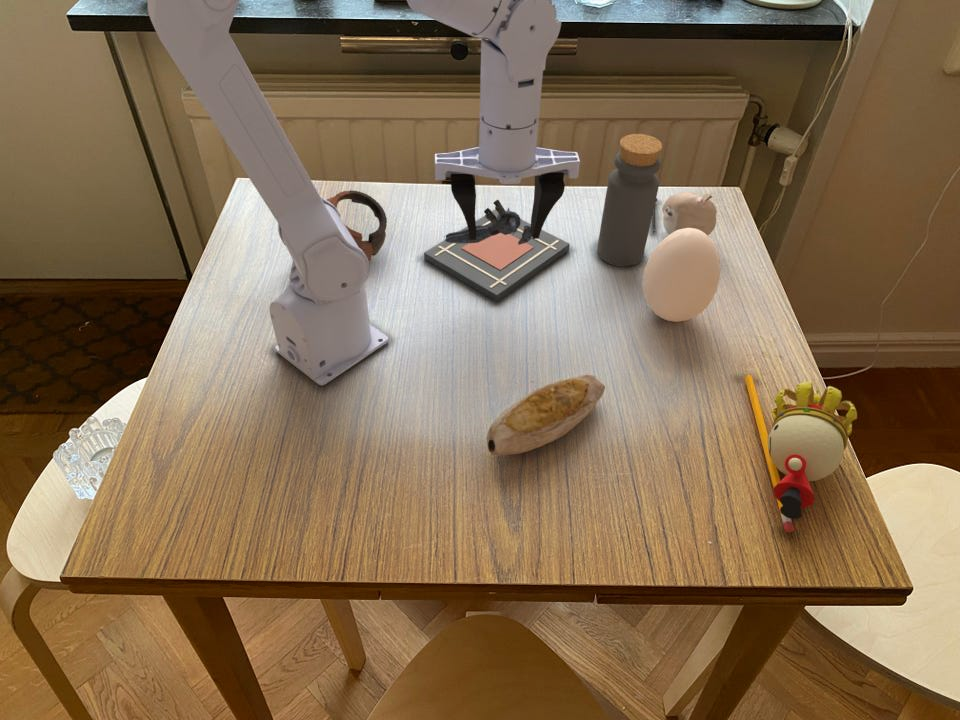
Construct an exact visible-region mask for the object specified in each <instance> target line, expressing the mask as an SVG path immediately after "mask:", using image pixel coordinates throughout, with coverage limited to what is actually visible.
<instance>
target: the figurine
mask: <svg viewBox="0 0 960 720" xmlns="http://www.w3.org/2000/svg"><path fill="white" fill-rule="evenodd" d="M493 204H494V210H495V209H496V210H497V212H498V213H499V214H498V215H497V217H496V216H495V215H494V214H493V213H492V211H493V210H491V209H490V208H489V207H487V208H485V210H484V211H483V213H484V216H485V217H486V218H487V219H488V220H489V221H490V223H489V224H487V225H484V226H476V240H470V238H469V230H468V229H467V230H463V231H461V230H459V231H453V232H448V233H447V234H445V235H444V236H443V237H444V238H445V239H444V240H446V242H449V243H478V242H480V241H482V240H484V239H486V238H488V237H490V236H494V235H497V234H499V233H502V234H504V235H507V234H511V233H513V234H514V233H515V232H516V233H517V229H518V228H519V226H520V222H521V220H522V218H521V217H520V215H519V214H518V213H517V212H516V211H511V210H510V208H509V207H507V209H505V208H504V206H503V205H502V203H501V202H500V200H499V199H496V200H495V201H493ZM531 238H532V230H531V228H530V227H529V226H524V230H523V233H522V238H521V239H520V240H519V242H518V244H519V245H520V244H523V243H526V242H528V241H529V240H530V239H531Z"/></svg>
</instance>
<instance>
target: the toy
mask: <svg viewBox="0 0 960 720" xmlns="http://www.w3.org/2000/svg"><path fill="white" fill-rule="evenodd" d="M815 388H816V394H815V390H814V386H813V382H812V381H804V382H800V383H798V384H796V388H795V390H793V389H790V388H787V387H786V388H783V389H782V390H780V391H779V392H778V393H777V394H776V395H775V397H774V403H775V404H776V405H775V406H774V407H773V408H772V410H771V416H772V418H773V422H772V427H771V429H770V433H769V434H768V437H769V439H768V451H769V455H770V457H771V459H772V462H773V463H774V464H775V466H776V467H777V470H778V471H780V472H781V473H782V474H783V475H784V477H783V478H782V479H780V482H779V483H778V484H777V485H776V486H775V487H773V489H772V494H773V496H774V498H775V499H776V498H777V499H778V500H779V501H780V502H781V504H782V505H783V506H782V507H781V508H780V510H779V513H780V512H781V513H782V514H783V515H784V516H785V517H787V518H790V519H791V520H799V519H800V518H802V515H803V514H802V509H803V508H808V507H811V506H812V505H813V504H814V503H815V494H814V492H813V489H812V486H811V484H810V482H816V481H820V480H822V479H824V478H827V477H829V476H830V475H831V474H833V473H834V472H835V471H836V470H837V469H838V468H839V466H840V464H841V462H842V460H843V458H844V454H845V453H844V452H845V450H846V448H847V446H848V445H847V444H848V440H849V436H850V435H851V434H852V430H853V423H852V422H853V421H855V420H857V419H858V411H857V409H856V407H855V404H854V403H852V401H851V400H842V398H843V395H842V391H841V390H839V389H838V388H836V387H834V386H831V385H828V386H827V387H826V388H825V389H824V391H823V393H822V395H819V392H820V391H821V390H820V388H819V385H816V387H815ZM784 396H787V398H788V399H791V400H792V401H794V402H796V403H795V404H792V403H788V402H787V403H786V400H785V399H784ZM838 410H845V411H847V413H846V414H845V416H842V415H839V414H837V413H836V411H838ZM777 499H776V500H777Z"/></svg>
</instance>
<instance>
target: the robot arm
mask: <svg viewBox="0 0 960 720" xmlns="http://www.w3.org/2000/svg"><path fill="white" fill-rule="evenodd" d="M146 1H147V14H148V16H149V19H150V21H151V24H152V26H153V28H154V30H155V32H156V35H157V37H158V39H159V41H160V43H161V44H162V45H163V47H164V48H165V50H166V52H167V53H168V54H169V56H170V58H171V59H172V61H173V62H174V64H175V66H176V67H177V69H178V71H179V72H180V73H181V75H182V76H183V78H184V79H185V81H186V83H187V84H188V86H189V87H190V88H191V91H192V92H193V94H194V95H195V96H196V98H197V100H198V101H199V103H200V104H201V106H202V107H203V109H204V111H205V112H206V113H207V115H208V117H209V118H210V120H211V122H212V123H213V124H214V126H215V127H216V129H217V130H218V132H219V133H220V135H221V137H222V138H223V140H224V141H225V143H226V144H227V147H229V149H230V151H231V152H232V155H234V157H235V158H236V160H237V161H238V163H239V165H240V166H241V167H242V169H243V171H244V172H245V174H246V176H247V177H248V178H249V180H250V182H251V183H252V185H253V186H254V188H255V190H256V191H257V193H258V194H259V196H260V197H261V199H262V200H263V202H264V203H265V205H266V207H267V208H268V210H269V211H270V213H271V214H272V216H273V217H274V219H275V221H276V223H277V231H278V236H279V238H280V240H281V242H282V244H283V245H284V246H285V247H286V249H287V251H288V253H289V255H290V257H291V259H292V264H291V268H290V274H289V283H288V285H287V287H286V288H285V289H284V290H283V291H282V293H281V294H280V295H279V296H278V297H276V298H275V299H274V300H273V301H272V302H271V303H270V305H269V314H270V315H269V316H270V319H271V324H272V328H273V331H274V336H275V338H276V343H277V344H276V345H275V346H274V349H275V352H276V353H278V354H279V355H280V356H281V357H283V358H284V359H285V360H287V361H288V362H289V363H290V364H292V365H293V366H294V367H295V368H297V370H299V371H301V372H302V373H303V374H304V375H306V376H307V377H308V378H309V379H311V381H313V382H314V383H316V384H317V385H319V386H325V385H327V384H328V383H330V382H331V381H332V380H334V379H336V378H337V377H339V376H340V375H341V374H343V373H345V372H346V371H347V370H349V369H350V368H352V367H353V366H355V365H357V364H358V363H360V362H361V361H362V360H364V359H365V358H367V357H368V356H370V355H371V354H373V353H374V352H376V351H377V350H379V349H380V348H382V347H383V346H384V345H386V344H388V343H389V340H390V339H389V338H390V337H389V335H387V334H385V333H383V332H382V331H381V330H380V329H377V327H375V326H374V325H372V324H371V322H370V314H369V305H368V299H367V298H368V297H367V289H366V282H367V280H368V278H369V274H370V261H368V258H367V257H366V255H365V253H364V252H363V251H362V249H360V248H359V247H358V245H357V244H356V242H355V241H354V239H353V237H352V236H351V234H350V233H349V231H348V229H347V228H346V226H347V225H346V224H345V223H344V221H343V220H342V218H341V214H340V213H339V210H338V209H336V207H335V206H334V205H333V204H332V203H330V202H329V201H327V199H325V198H324V197H322V196H321V195H320V193H319V192H318V189H317V188H316V186H315V184H314V183H313V181H312V179H311V177H310V175H309V173H308V172H307V170H306V168H305V167H304V165H303V163H302V161H301V159H300V157H299V156H298V154H297V153H296V150H295V149H294V147H293V145H292V143H291V141H290V140H289V138H288V136H287V134H286V133H285V131H284V129H283V128H282V126H281V124H280V122H279V120H278V118H277V117H276V115H275V113H274V111H273V110H272V108H271V106H270V103H268V101H267V99H266V97H265V95H264V94H263V92H262V90H261V88H260V86H259V84H258V83H257V81H256V79H255V77H254V76H253V74H252V72H251V70H250V69H249V67H248V64H247V63H246V62H245V59H244V57H243V56H242V55H241V53H240V51H239V49H238V47H237V46H236V44H235V42H234V40H233V38H232V37H231V34H230V27H231V26H232V25H231V24H232V22H233V19H234V17H235V15H236V12H237V9H238V6H239V3H240V1H241V0H146ZM406 2H407V4H408V6H409V8H410V10H412V11H414V12H416V13H418V14H420V15H423V16H425V17H428V18H429V19H432V20H435V21H437V22H439V23H442V24H444V25H446V26H448V27H450V28H453V29H455V30H457V31H459V32H461V33H464V34H466V35H469V36H471V37H473V38H477V39H481V42H480V74H479V75H480V76H479V78H480V79H479V81H480V82H479V83H480V84H479V124H478V125H479V126H478V127H479V128H478V129H479V132H478V133H479V134H478V146H477V147H472V148H466V149H461V150H457V151H452V152H443V153H442V152H441V153H434V179H435V181H445V180H446V179H447V178H450V191H451V193H452V195H453V198H454V200H455V201H456V203H457V204H458V207H459V208H460V210H461V212H462V214H463V217H464V219H465V223H466V225H467V226H468V230H469V238H470V240H476V223H475V221H476V204H477V203H476V202H477V201H476V200H477V191H476V177H483V178H489V179H496V180H498V182H499V183H500V184H501V185H519V184H520V183H521V182H522V179H526V178H530V177H534V191H533V192H534V193H533V202H532V210H531V216H530V217H531V218H530V224H531V230H532V238H533V239H538V238H539V236H540V232H541V230H543V227H544V224H545V222H546V220H547V218H548V216H549V215H550V213H551V211H552V209H554V207H555V205H556V204H557V202H559V200H560V199H561V198H562V197H563V195H564V192H565V187H566V186H565V181H564V179H565V176H566V177H567V178H568V179H578V178H579V174H580V166H581V160H580V156H579V153H578V151H564V150H563V151H562V150H556V149H549V148H543V147H539V146H538V135H539V122H540V114H541V113H540V111H541V101H542V89H543V77H544V71H546V63H547V62H546V61H547V58H548V54H549V51H551V50H552V47H553V46H554V45H555V43H556V41H557V39H558V37H559V34H560V31H561V27H562V21H561V20H559V19H558V18H557V16H558V15H557V8H556V4H555V2H553V0H406ZM537 146H538V147H537ZM344 224H345V225H346V226H345V225H344ZM467 226H466V227H467Z"/></svg>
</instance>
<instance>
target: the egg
mask: <svg viewBox="0 0 960 720" xmlns="http://www.w3.org/2000/svg"><path fill="white" fill-rule="evenodd" d="M719 258H720V257H719V253H718V251H717V248H716V245H715V243H714V242H713V240H712V238H711V237H710V236H709V235H708V236H707V235H706V234H705V233H704V232H702V231H700V230H698V229H694V228H684V229H680V230H677V231H674V232H673V233H671V234H669V233H668V235H667V236H666V237H664V238H663V239H662V240H661V241H660V242H659V243H658V245H656V247H655V248H654V249H653V251H652V252H651V254H650V255H649V257H648V260H647V262H646V265H645V268H644V270H643V277H642V290H643V295H644V299H645V301H646V303H647V305H648V306H649V308H650V309H651V311H652V312H653V313H654V314H655V315H656V316H658V317H659V318H661V319H663V320H665V321H668V322H674V323H679V322H684V321H685V322H686V321H688V320H690V319H693V318H696V317H697V316H699V314H701V313H702V312H704V311H705V310H706V309H707V308H708V307H709V305H710V304H711V302H712V301H713V300H714V297H715V295H716V293H717V290H718V286H719V282H720V279H721V265H720V259H719Z"/></svg>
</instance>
